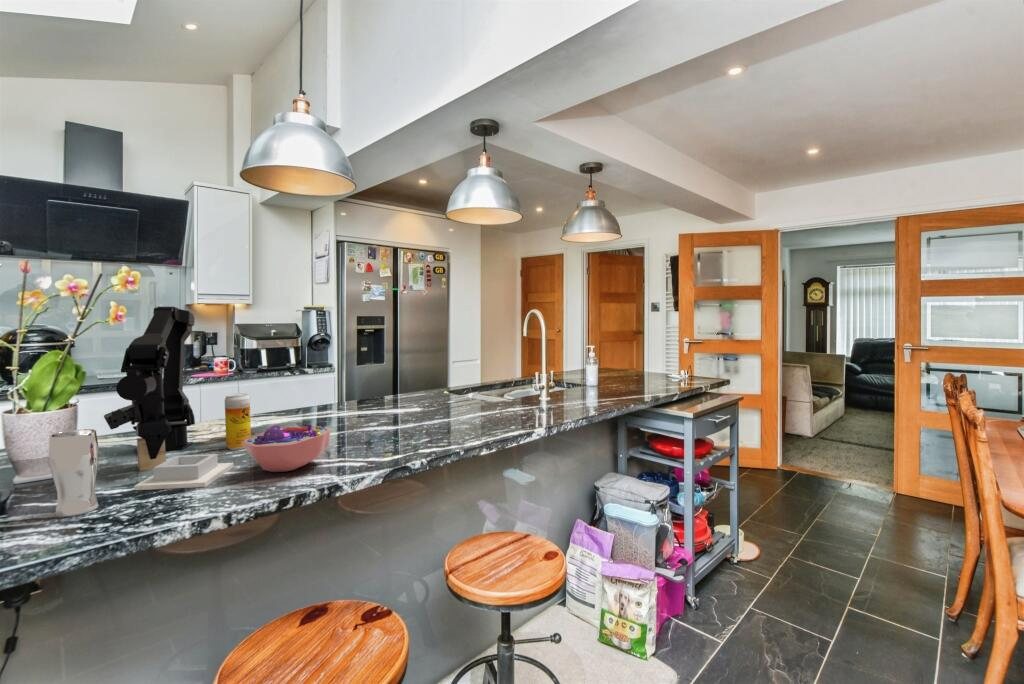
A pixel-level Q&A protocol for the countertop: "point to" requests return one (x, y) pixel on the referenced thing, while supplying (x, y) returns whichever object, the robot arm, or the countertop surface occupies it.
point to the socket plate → (185, 472)
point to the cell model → (287, 447)
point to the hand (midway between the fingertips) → (151, 456)
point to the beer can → (237, 420)
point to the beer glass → (74, 470)
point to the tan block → (144, 457)
